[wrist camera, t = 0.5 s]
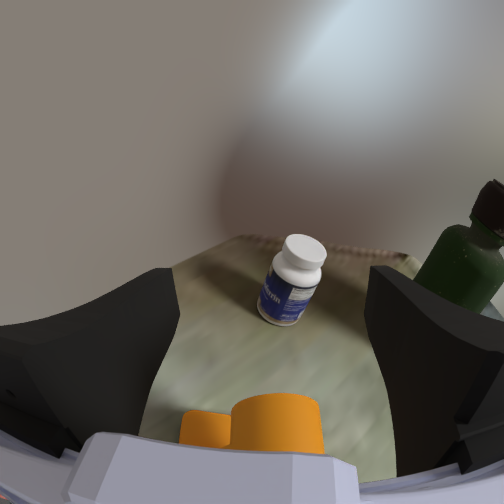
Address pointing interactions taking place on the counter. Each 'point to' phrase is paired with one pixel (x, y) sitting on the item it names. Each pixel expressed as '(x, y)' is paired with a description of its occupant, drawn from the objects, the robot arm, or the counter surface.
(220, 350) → the counter surface
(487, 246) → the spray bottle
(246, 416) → the bracket
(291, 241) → the pill bottle
